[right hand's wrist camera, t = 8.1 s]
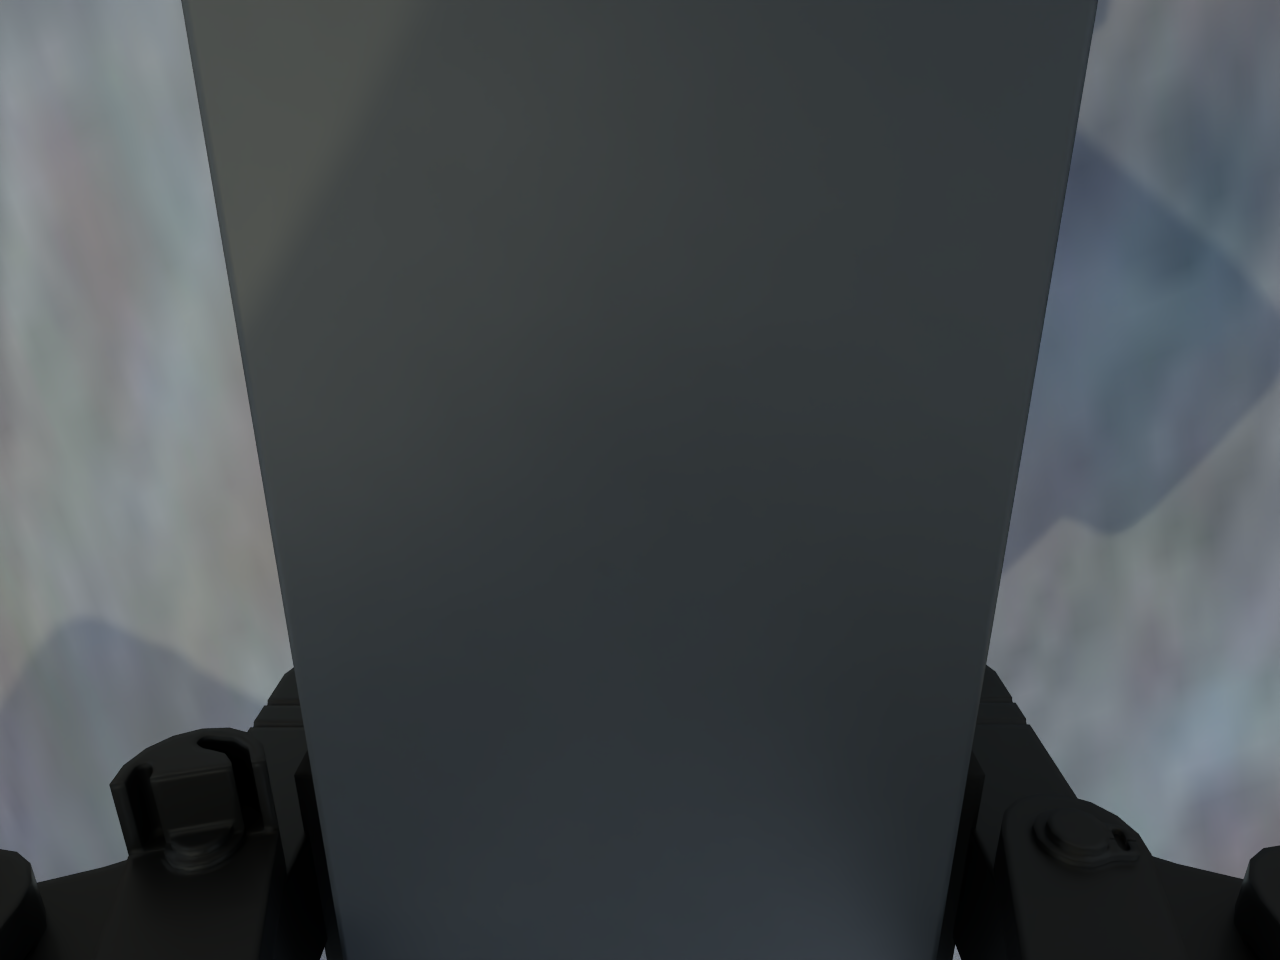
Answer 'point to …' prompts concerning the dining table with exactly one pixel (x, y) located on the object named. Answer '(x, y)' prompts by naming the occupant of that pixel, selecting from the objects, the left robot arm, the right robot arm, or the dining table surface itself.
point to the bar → (639, 445)
